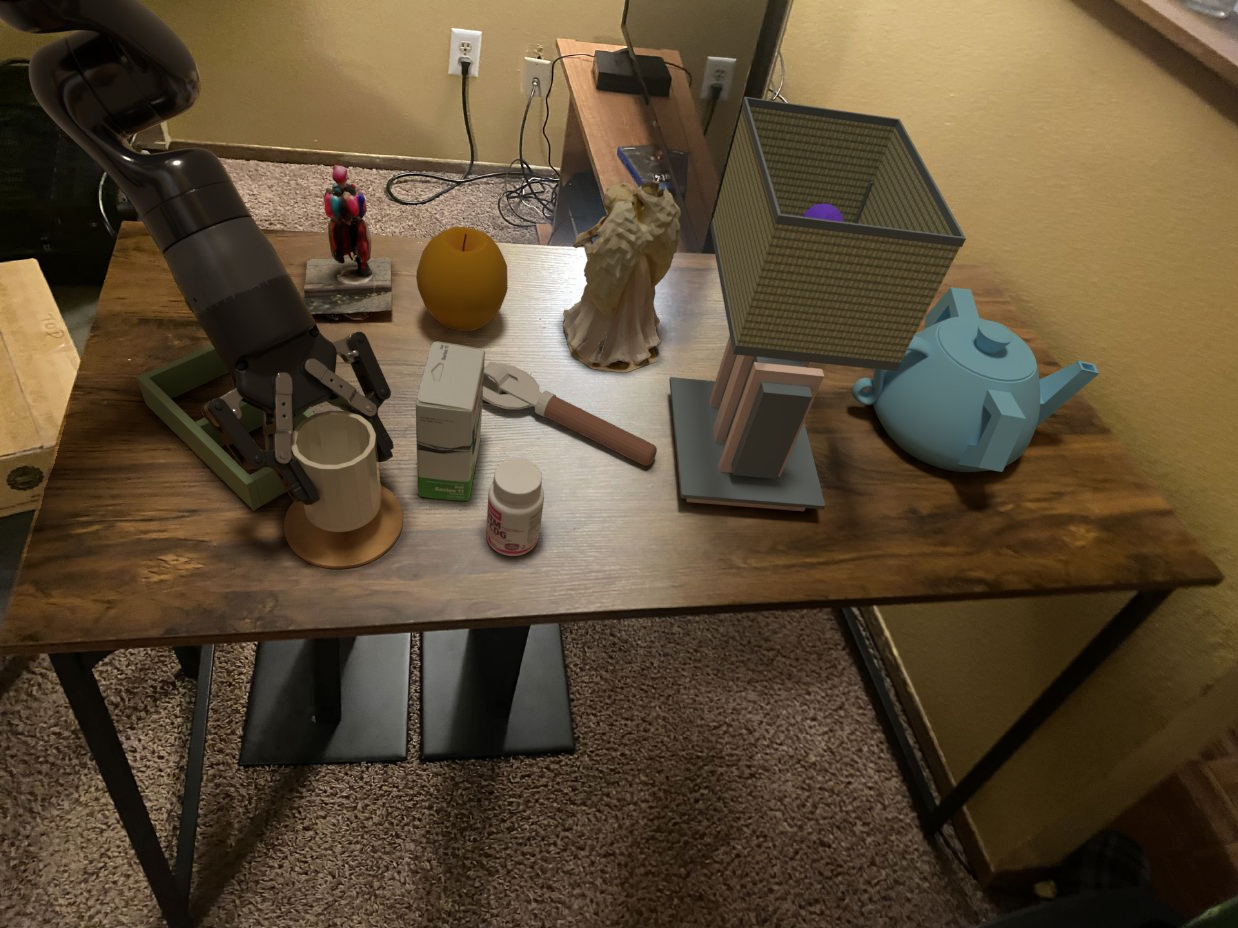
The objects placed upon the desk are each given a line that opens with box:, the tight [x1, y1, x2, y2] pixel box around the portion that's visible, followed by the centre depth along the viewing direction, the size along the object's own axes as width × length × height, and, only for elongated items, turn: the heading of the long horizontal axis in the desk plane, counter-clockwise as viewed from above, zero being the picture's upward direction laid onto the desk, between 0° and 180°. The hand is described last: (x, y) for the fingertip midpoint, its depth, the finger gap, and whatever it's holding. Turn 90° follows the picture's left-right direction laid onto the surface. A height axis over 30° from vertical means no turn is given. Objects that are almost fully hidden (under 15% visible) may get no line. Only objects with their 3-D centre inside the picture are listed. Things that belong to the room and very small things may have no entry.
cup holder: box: [136, 344, 315, 511], centre depth 78 cm, size 18×9×4 cm, turn 49°
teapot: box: [851, 286, 1100, 473], centre depth 91 cm, size 19×19×14 cm
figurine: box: [562, 180, 682, 374], centre depth 90 cm, size 12×12×20 cm
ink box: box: [415, 341, 486, 502], centre depth 76 cm, size 9×5×12 cm, turn 179°
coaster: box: [283, 484, 404, 570], centre depth 74 cm, size 10×10×1 cm
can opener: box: [482, 361, 658, 467], centre depth 86 cm, size 20×6×3 cm, turn 68°
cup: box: [291, 409, 382, 532], centre depth 69 cm, size 6×6×8 cm
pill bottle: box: [485, 457, 545, 557], centre depth 72 cm, size 5×5×8 cm
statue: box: [303, 164, 393, 321], centre depth 91 cm, size 11×9×15 cm
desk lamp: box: [669, 96, 967, 512], centre depth 75 cm, size 18×14×33 cm
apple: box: [415, 226, 509, 331], centre depth 91 cm, size 10×10×12 cm
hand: (350, 479), depth 68 cm, fingers closed on cup, 6 cm apart
